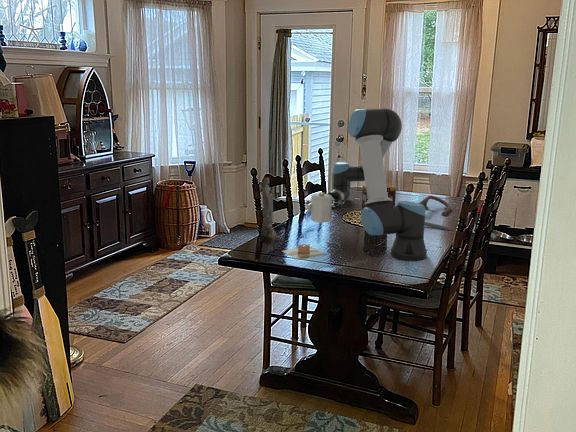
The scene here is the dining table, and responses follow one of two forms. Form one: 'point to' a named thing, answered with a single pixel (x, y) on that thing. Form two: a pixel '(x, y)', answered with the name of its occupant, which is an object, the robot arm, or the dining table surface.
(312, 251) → the board
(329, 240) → the mat
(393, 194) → the supplement box
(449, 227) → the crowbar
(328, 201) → the white lidded jar
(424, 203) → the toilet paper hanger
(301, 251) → the peach rounded dome
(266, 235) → the statue
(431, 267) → the dining table surface
